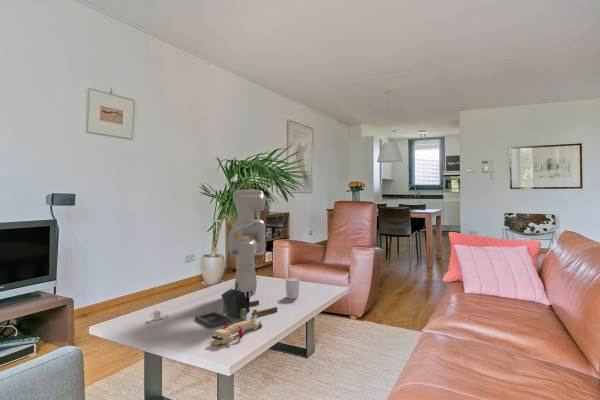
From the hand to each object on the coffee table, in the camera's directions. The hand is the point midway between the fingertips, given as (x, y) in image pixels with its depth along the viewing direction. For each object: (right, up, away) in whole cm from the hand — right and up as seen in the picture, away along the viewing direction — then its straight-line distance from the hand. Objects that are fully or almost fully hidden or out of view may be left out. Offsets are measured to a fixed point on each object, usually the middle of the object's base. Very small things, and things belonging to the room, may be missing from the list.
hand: (246, 305), depth 168 cm
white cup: (+22, -4, +28) cm, 36 cm away
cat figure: (+1, -4, -27) cm, 28 cm away
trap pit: (-13, -4, -11) cm, 17 cm away
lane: (+2, -4, +3) cm, 5 cm away
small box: (-3, -3, -2) cm, 5 cm away
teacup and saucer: (-36, -4, -11) cm, 38 cm away
